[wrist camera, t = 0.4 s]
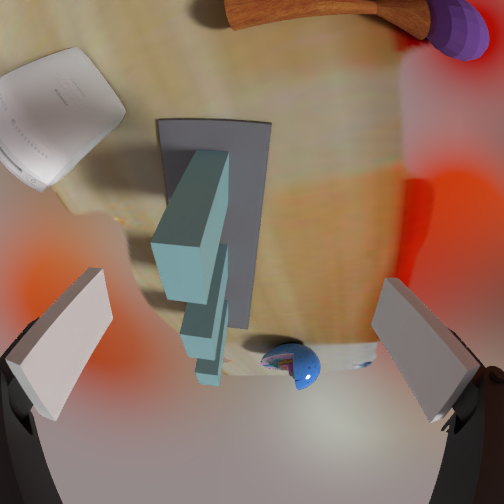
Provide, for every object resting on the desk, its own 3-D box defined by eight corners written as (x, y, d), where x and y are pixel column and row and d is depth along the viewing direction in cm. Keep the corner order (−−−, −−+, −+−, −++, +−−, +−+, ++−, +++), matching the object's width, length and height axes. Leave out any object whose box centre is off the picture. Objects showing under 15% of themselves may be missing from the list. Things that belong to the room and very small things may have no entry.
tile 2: (201, 242, 32) (177, 333, 24) (227, 244, 32) (211, 338, 24) (204, 273, 36) (186, 356, 28) (227, 276, 36) (214, 360, 28)
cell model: (254, 338, 51) (251, 384, 44) (316, 332, 48) (318, 381, 41) (268, 356, 58) (265, 396, 51) (321, 351, 55) (323, 393, 48)
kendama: (213, -31, 9) (495, 3, 5) (235, -9, 14) (460, 10, 10) (224, 41, 13) (506, 71, 8) (244, 49, 17) (467, 66, 13)
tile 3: (207, 298, 41) (193, 372, 33) (227, 300, 41) (217, 375, 33) (209, 317, 45) (198, 383, 37) (228, 319, 45) (219, 386, 37)
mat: (159, 119, 21) (158, 120, 21) (271, 123, 21) (271, 124, 21) (193, 320, 48) (192, 322, 47) (248, 327, 48) (247, 329, 47)
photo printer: (135, 113, 21) (54, 188, 12) (106, 136, 22) (31, 215, 14) (80, 39, 14) (-25, 79, 6) (55, 68, 16) (-39, 121, 8)
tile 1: (194, 149, 23) (147, 242, 15) (229, 151, 23) (199, 247, 15) (197, 201, 28) (165, 299, 19) (228, 203, 28) (206, 304, 19)
